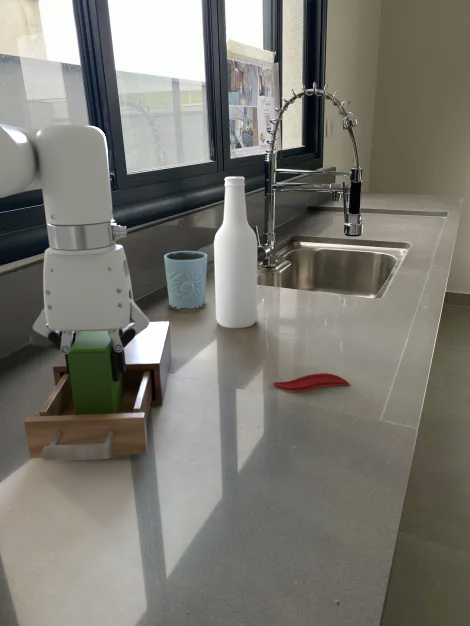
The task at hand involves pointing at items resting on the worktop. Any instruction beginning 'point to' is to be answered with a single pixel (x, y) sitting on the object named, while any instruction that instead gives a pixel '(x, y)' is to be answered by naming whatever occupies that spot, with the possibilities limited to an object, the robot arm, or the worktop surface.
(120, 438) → the drawer
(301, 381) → the cayenne pepper
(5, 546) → the worktop surface
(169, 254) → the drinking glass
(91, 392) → the tall green carton
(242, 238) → the alcohol
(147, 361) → the cabinet
